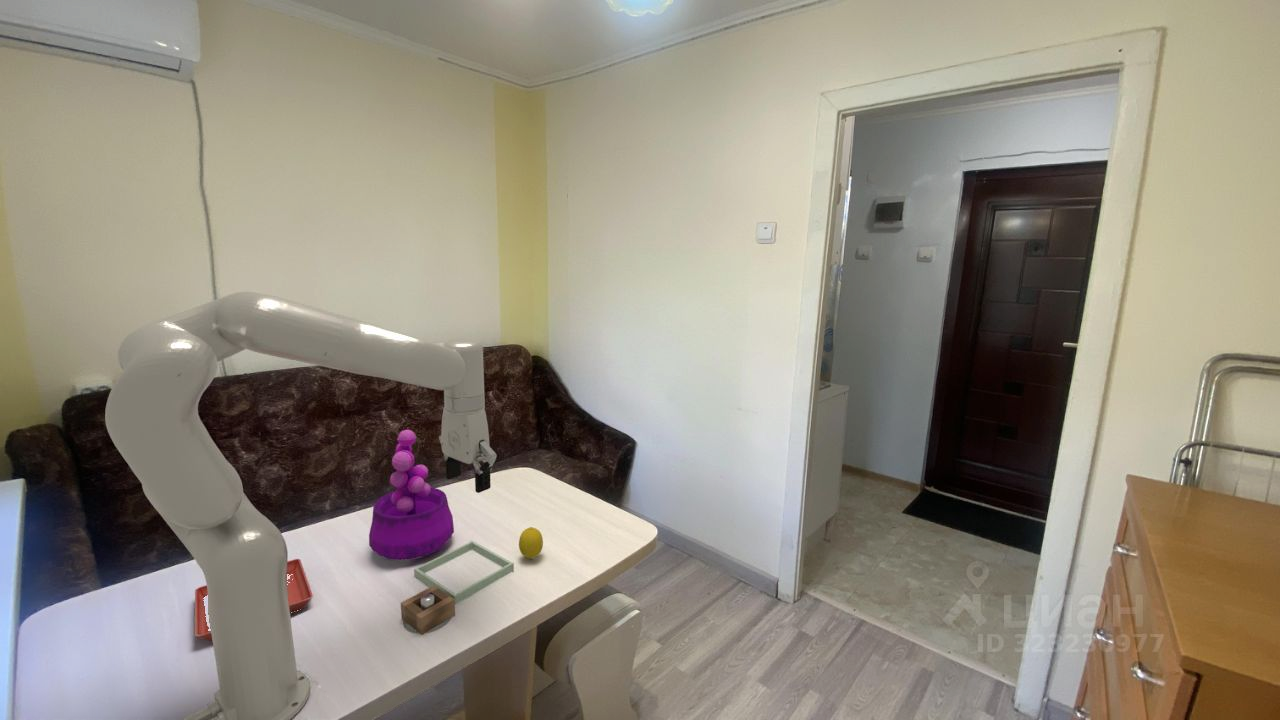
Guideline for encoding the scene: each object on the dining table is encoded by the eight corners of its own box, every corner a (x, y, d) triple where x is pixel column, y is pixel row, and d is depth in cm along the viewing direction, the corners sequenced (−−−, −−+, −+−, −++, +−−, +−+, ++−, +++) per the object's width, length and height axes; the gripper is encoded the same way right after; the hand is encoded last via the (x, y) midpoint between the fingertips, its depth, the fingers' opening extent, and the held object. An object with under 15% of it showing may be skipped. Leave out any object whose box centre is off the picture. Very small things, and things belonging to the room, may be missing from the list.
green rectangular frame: (455, 607, 106) (454, 596, 106) (414, 579, 115) (413, 568, 115) (513, 573, 118) (513, 563, 118) (472, 550, 127) (472, 540, 126)
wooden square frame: (421, 635, 97) (420, 618, 97) (401, 618, 101) (400, 602, 101) (455, 615, 103) (454, 599, 102) (434, 600, 107) (433, 585, 106)
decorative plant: (456, 562, 122) (450, 439, 116) (366, 578, 115) (355, 448, 109) (452, 524, 139) (447, 415, 133) (374, 535, 132) (365, 421, 126)
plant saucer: (196, 601, 107) (194, 587, 106) (301, 570, 118) (299, 556, 117) (197, 653, 93) (194, 637, 93) (315, 612, 105) (313, 597, 104)
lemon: (537, 566, 121) (537, 534, 119) (515, 563, 122) (514, 531, 120) (546, 553, 126) (546, 523, 125) (525, 550, 127) (524, 520, 126)
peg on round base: (420, 644, 96) (418, 620, 95) (394, 623, 101) (392, 600, 100) (462, 618, 103) (461, 595, 102) (436, 599, 108) (435, 578, 108)
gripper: (422, 398, 106) (427, 478, 109) (475, 415, 95) (479, 502, 99) (455, 391, 112) (458, 467, 115) (508, 406, 101) (510, 489, 105)
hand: (468, 483), depth 107 cm, fingers open, 9 cm apart
